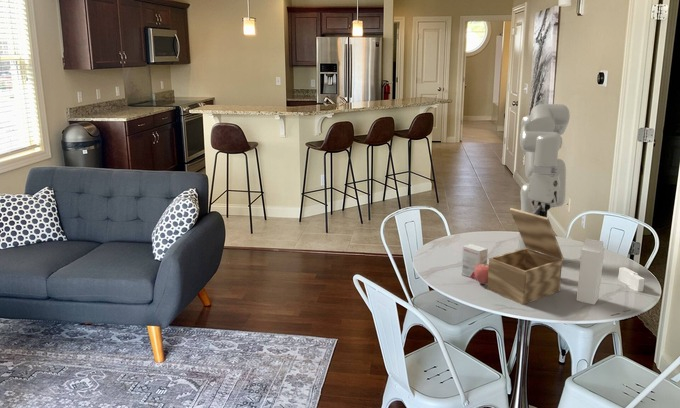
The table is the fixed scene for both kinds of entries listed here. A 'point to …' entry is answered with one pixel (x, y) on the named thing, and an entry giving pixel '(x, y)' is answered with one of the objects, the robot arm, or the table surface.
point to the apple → (482, 273)
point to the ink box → (472, 259)
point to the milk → (590, 271)
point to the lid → (537, 232)
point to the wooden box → (524, 275)
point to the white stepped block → (631, 279)
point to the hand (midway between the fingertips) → (540, 220)
